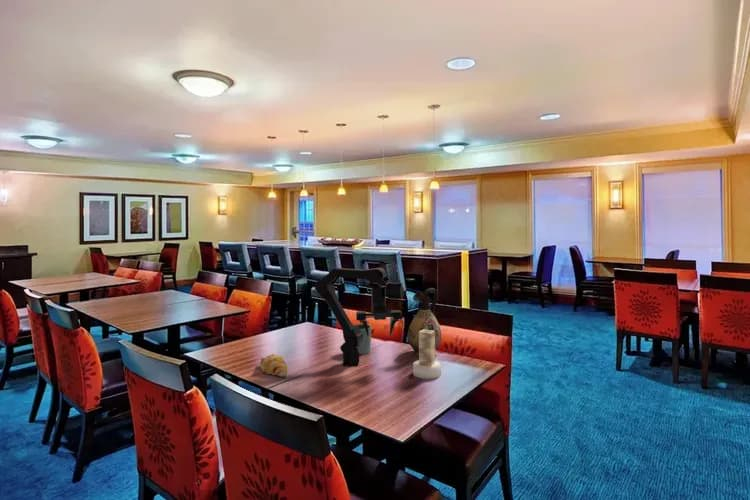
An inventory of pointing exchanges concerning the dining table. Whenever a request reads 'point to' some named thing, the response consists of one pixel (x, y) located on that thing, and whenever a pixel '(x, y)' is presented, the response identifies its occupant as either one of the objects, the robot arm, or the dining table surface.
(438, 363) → the cream plinth
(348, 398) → the dining table surface
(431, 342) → the maple block
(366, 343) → the grey cup
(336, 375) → the dining table surface
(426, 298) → the ceramic jug
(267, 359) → the croissant
